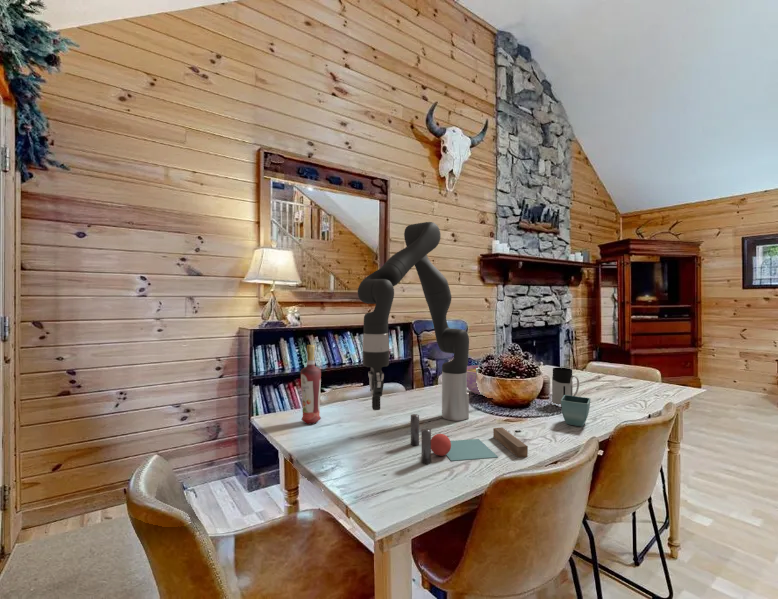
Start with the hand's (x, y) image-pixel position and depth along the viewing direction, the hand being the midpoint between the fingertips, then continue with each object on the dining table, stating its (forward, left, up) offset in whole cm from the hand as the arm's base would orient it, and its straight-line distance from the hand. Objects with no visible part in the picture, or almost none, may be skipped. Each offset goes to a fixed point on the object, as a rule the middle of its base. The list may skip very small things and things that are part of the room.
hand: (376, 409), depth 113 cm
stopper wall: (-41, 0, -14) cm, 43 cm away
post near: (-13, +6, -14) cm, 20 cm away
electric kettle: (-84, -35, -14) cm, 92 cm away
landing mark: (-27, 0, -14) cm, 30 cm away
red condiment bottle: (+19, -34, -14) cm, 41 cm away
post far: (-13, -7, -14) cm, 20 cm away
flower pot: (-74, -15, -14) cm, 77 cm away
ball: (-18, +2, -10) cm, 21 cm away
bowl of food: (-59, -60, -14) cm, 85 cm away
